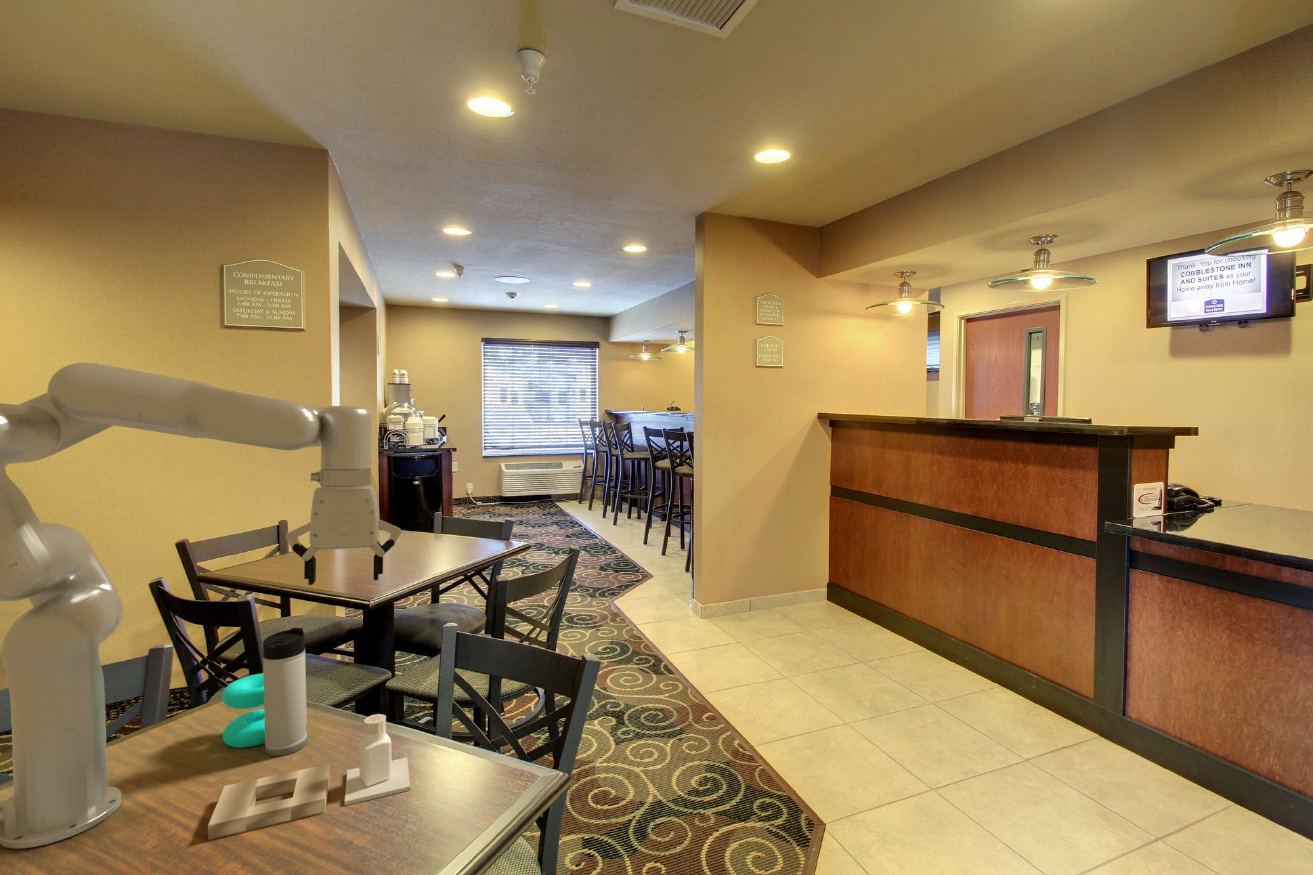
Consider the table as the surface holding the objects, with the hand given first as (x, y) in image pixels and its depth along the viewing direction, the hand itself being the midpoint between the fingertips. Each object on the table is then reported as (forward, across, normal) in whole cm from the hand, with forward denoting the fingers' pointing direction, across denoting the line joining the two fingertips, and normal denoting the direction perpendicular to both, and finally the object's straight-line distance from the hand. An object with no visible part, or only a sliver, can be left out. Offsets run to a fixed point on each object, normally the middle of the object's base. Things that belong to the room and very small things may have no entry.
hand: (344, 580), depth 102 cm
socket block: (+30, -8, -10) cm, 33 cm away
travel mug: (+31, -9, +8) cm, 33 cm away
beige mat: (+30, +6, -10) cm, 32 cm away
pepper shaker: (+30, +6, -10) cm, 32 cm away
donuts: (+31, -15, +15) cm, 37 cm away
